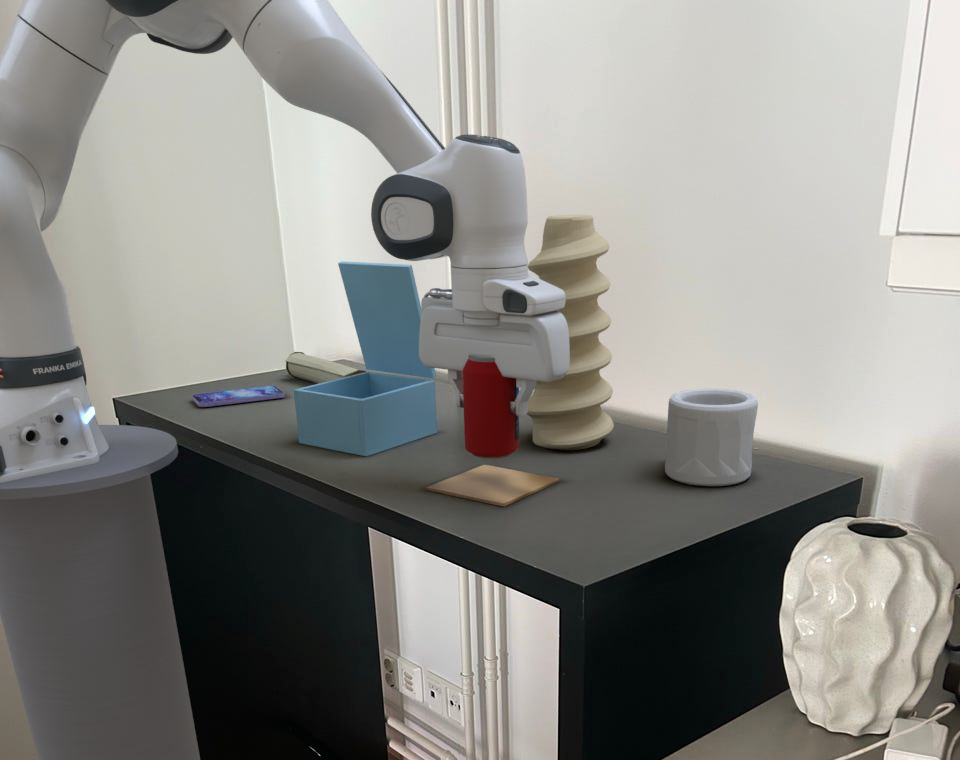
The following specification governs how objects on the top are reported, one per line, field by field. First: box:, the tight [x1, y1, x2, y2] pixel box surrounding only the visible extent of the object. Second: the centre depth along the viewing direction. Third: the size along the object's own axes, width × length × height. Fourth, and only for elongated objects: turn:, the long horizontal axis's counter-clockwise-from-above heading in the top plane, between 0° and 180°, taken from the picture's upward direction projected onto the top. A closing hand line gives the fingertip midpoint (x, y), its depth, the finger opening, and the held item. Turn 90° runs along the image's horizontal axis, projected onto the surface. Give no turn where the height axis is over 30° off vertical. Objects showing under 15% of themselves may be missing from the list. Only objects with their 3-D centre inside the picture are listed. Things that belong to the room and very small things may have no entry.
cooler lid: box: [337, 260, 437, 379], centre depth 145 cm, size 16×14×1 cm
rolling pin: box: [285, 351, 367, 384], centre depth 180 cm, size 32×6×5 cm, turn 34°
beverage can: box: [463, 355, 520, 460], centre depth 120 cm, size 7×7×12 cm
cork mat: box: [426, 464, 561, 508], centre depth 125 cm, size 12×12×1 cm
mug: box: [664, 388, 759, 487], centre depth 125 cm, size 14×11×10 cm
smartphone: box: [191, 384, 285, 408], centre depth 174 cm, size 7×1×15 cm
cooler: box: [293, 371, 438, 457], centre depth 146 cm, size 16×14×8 cm
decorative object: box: [526, 214, 615, 451], centre depth 137 cm, size 13×13×30 cm
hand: (492, 411), depth 121 cm, fingers closed on beverage can, 7 cm apart
